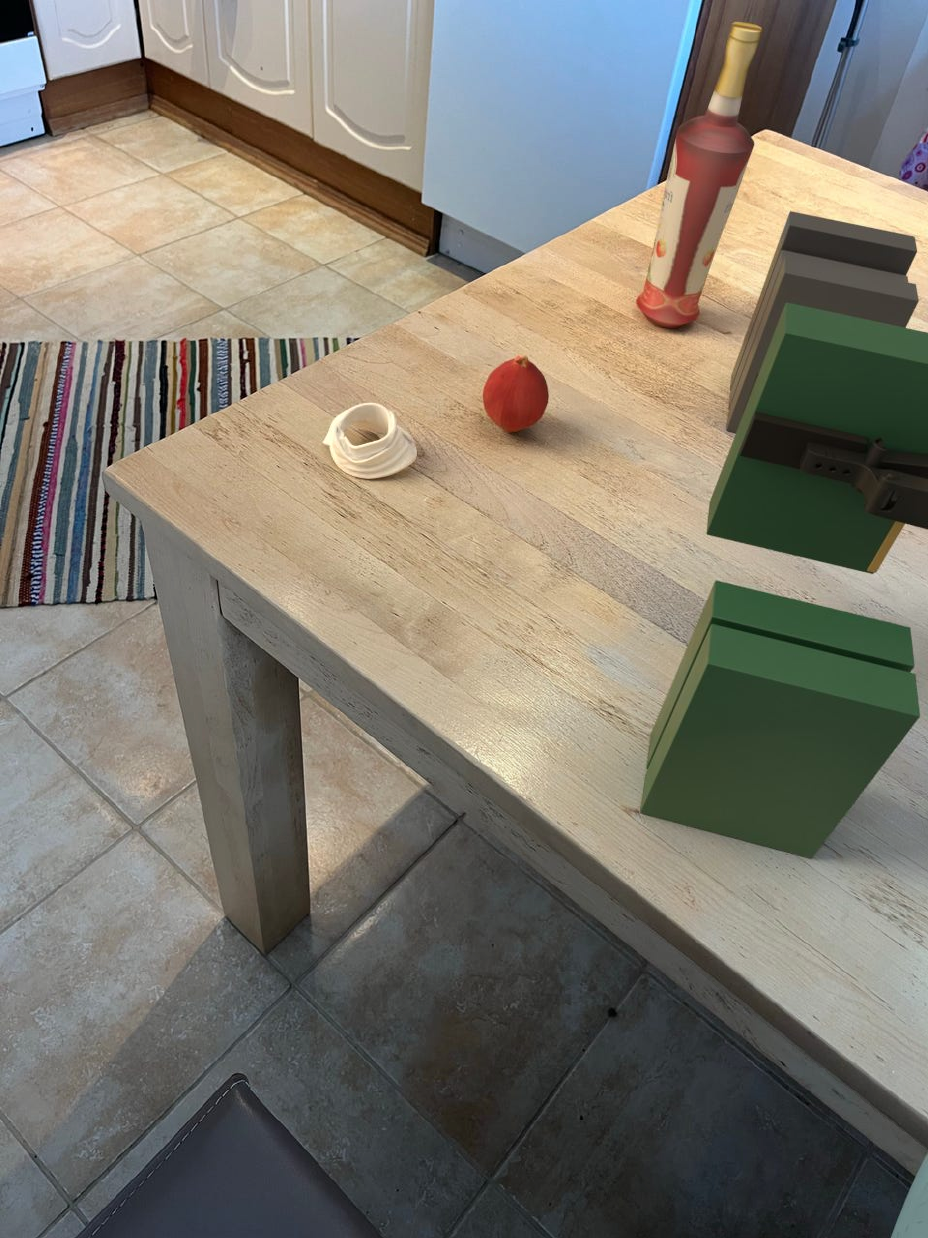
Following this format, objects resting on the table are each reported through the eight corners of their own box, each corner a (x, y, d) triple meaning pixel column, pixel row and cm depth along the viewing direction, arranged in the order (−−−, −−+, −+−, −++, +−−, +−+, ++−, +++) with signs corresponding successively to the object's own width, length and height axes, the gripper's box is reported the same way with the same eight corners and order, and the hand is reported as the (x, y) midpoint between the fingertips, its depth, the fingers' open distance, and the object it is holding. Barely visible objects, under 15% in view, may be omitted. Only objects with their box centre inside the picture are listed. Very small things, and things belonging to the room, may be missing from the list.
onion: (474, 410, 88) (485, 333, 82) (535, 411, 89) (549, 335, 83) (482, 449, 84) (493, 372, 78) (546, 450, 85) (561, 373, 79)
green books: (811, 859, 59) (920, 716, 48) (639, 813, 60) (707, 663, 49) (811, 775, 64) (910, 626, 53) (650, 733, 65) (715, 579, 54)
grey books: (842, 457, 89) (924, 289, 76) (725, 430, 90) (788, 260, 77) (839, 399, 96) (914, 235, 83) (731, 375, 97) (789, 210, 84)
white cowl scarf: (426, 459, 84) (436, 412, 80) (393, 496, 79) (402, 448, 76) (346, 425, 85) (352, 377, 82) (309, 460, 80) (314, 411, 77)
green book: (874, 575, 62) (992, 377, 51) (705, 535, 63) (785, 332, 52) (872, 539, 64) (983, 343, 53) (709, 501, 65) (786, 301, 54)
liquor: (697, 341, 100) (790, 46, 80) (628, 327, 101) (704, 31, 80) (699, 307, 105) (787, 21, 85) (634, 294, 106) (706, 7, 85)
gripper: (1140, 647, 53) (722, 547, 55) (1081, 468, 64) (736, 392, 66) (1234, 549, 47) (765, 443, 49) (1152, 372, 58) (772, 292, 60)
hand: (749, 414), depth 58 cm, fingers closed on green book, 3 cm apart
